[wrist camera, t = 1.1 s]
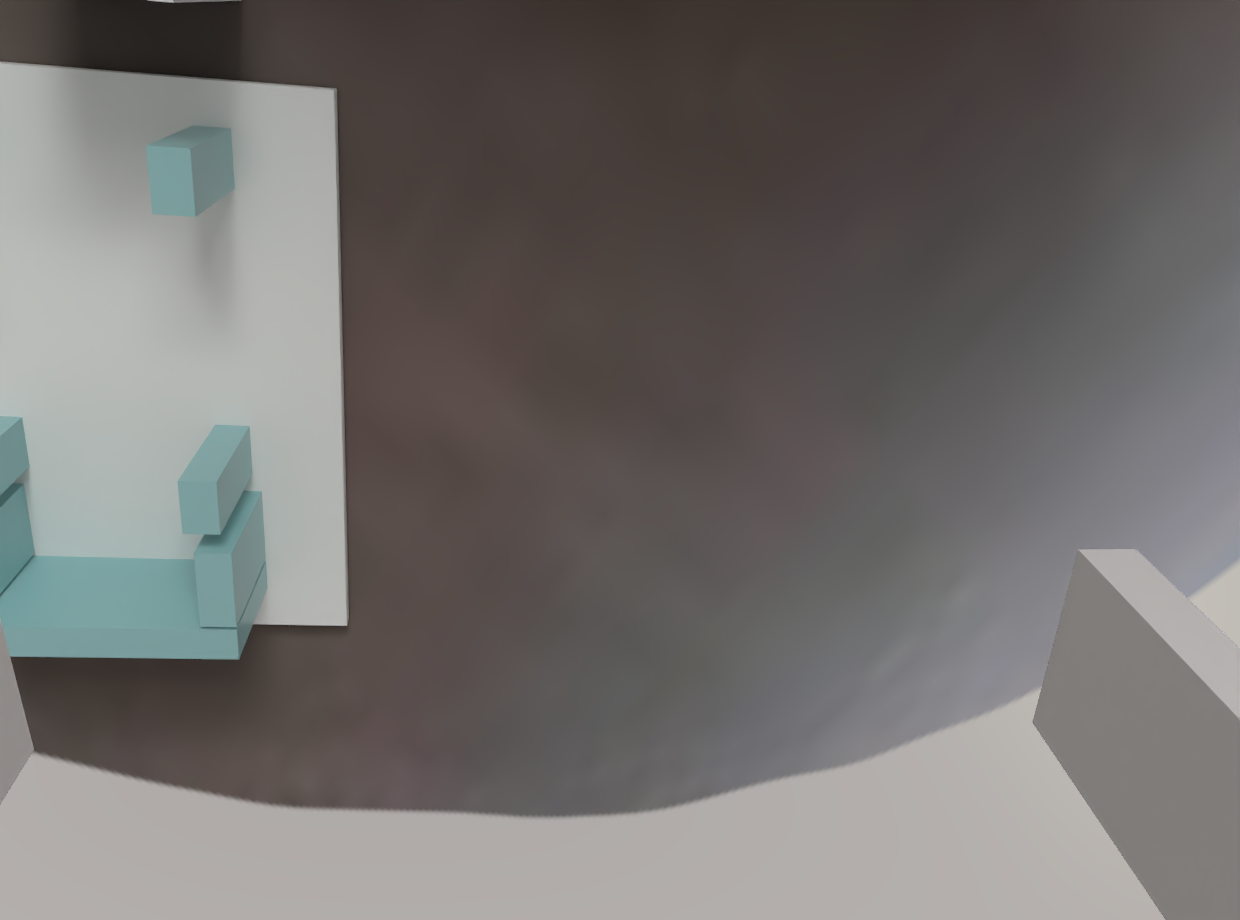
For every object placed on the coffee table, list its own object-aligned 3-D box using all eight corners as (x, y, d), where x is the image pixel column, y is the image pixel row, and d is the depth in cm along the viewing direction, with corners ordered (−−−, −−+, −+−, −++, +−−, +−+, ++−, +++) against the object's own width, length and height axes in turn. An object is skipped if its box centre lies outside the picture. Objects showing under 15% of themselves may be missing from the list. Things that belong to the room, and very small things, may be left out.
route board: (-180, 46, 27) (-303, 56, 23) (337, 88, 28) (308, 104, 24) (-63, 610, 34) (-142, 695, 30) (348, 617, 35) (328, 699, 31)
